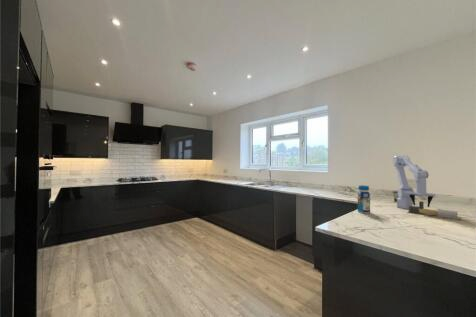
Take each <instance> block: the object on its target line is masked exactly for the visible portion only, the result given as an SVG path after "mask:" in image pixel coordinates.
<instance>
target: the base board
mask: <svg viewBox="0 0 476 317" xmlns="http://www.w3.org/2000/svg"><path fill="white" fill-rule="evenodd" d="M406 214H409V215H410V214H411V215H418V216H424V217H429V218H430V217H431V218H438V219H445V220H451V221H458V222H460V221H461V220H462V217H460V216H457V217H458V218H457V219H452V218H445V217H438V215H435V214H428V213H421V212H419V214H418V213H409V210H408V211H407V212H406Z"/></svg>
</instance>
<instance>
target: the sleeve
mask: <svg viewBox="0 0 476 317" xmlns="http://www.w3.org/2000/svg"><path fill="white" fill-rule="evenodd" d="M437 210H438V217H445V218H452V219H457V218H458V217H459V216H458V211H456V210H449V209H441V208H438V209H437Z"/></svg>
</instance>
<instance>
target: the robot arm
mask: <svg viewBox="0 0 476 317" xmlns="http://www.w3.org/2000/svg"><path fill="white" fill-rule="evenodd" d="M392 163H393V166H394V167H395V170H396V174H397V177H398V181H399V185H400V187H398V188H397V190H396V191H398V196H399V197H400V198H397V202H396V208H397V209H405V210H409V206H410V205H412V206H416V201H415V200H416V196H418V197H419V196H420V197H427V208H430V205H431V202H432V200H433V198H435V197H436V194H434V193H427V179H428V178H429V172H428V171H427V170H423V169H422V168H421V167H419V165H418V164H414V163H413V162H412V161H411V157H410V156H409V155H394V156H393V158H392ZM406 167H408V170H409V171H410V172H411V174H413V178H414V181H415V191H414V188H413V187H411V186H410V185H409V183H408V182H409V181H408V178H407V175H406V170H405V168H406Z"/></svg>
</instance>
